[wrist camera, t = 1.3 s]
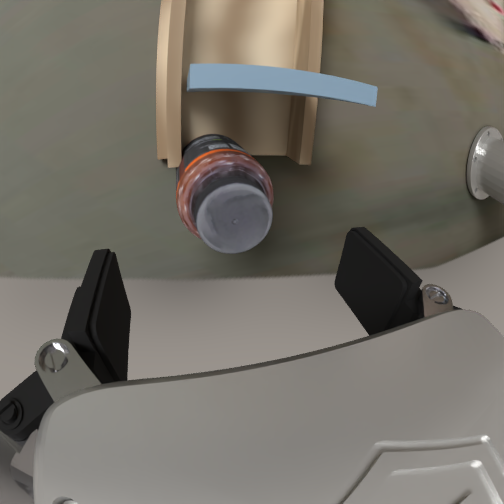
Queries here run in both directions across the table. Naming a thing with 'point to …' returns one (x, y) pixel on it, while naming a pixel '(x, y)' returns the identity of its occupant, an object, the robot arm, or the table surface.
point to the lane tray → (236, 52)
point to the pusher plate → (277, 82)
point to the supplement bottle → (223, 194)
